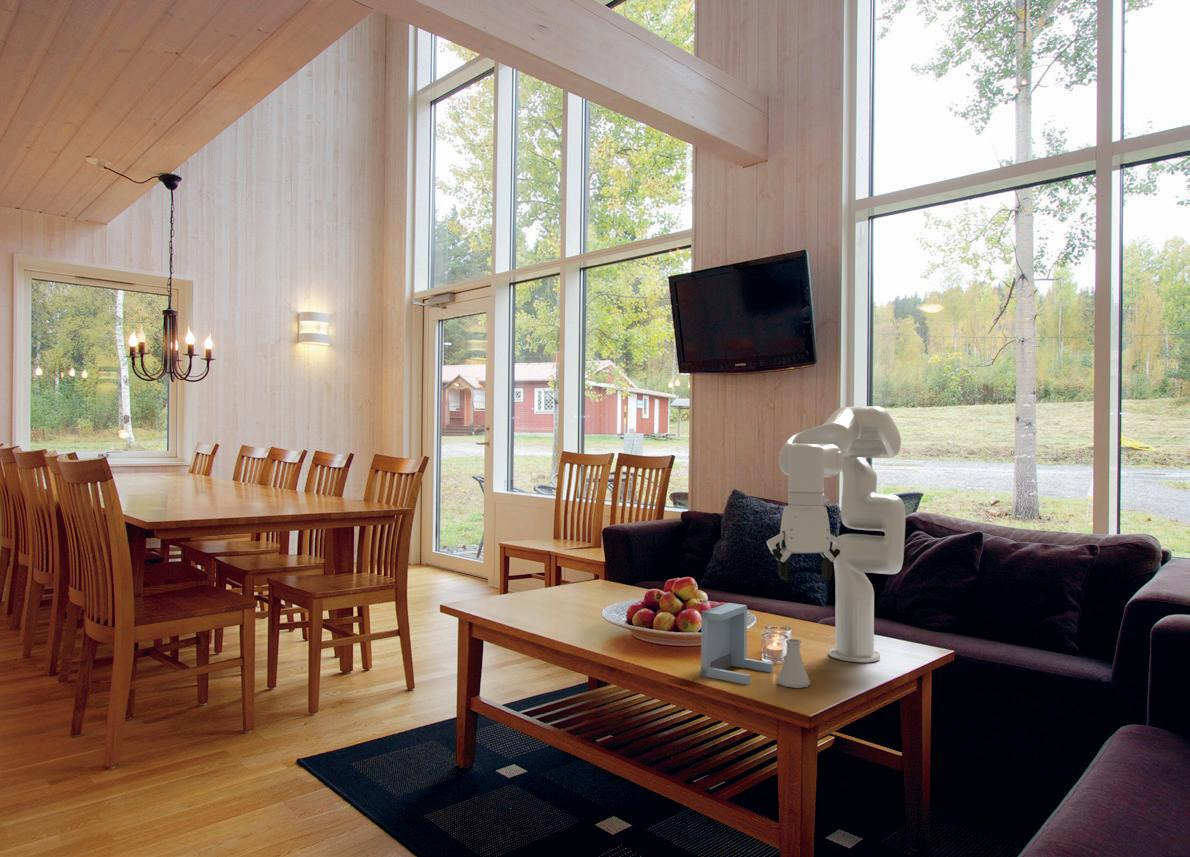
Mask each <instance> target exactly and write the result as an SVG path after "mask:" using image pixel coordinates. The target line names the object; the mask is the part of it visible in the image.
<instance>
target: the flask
mask: <svg viewBox="0 0 1190 857" xmlns="http://www.w3.org/2000/svg"><path fill="white" fill-rule="evenodd" d="M785 642H786V644H787V650H786V654H785V659H784V661H783V664H782V668H781V670H780V673H779V675H778V678H777V680H776V684H778V685H780V686H783V687H787V688H794V689H801V688H807V687H808V686H810V685H811V682H810V679H809V675H808V673H807V671H806V668H805V666H804V665H805V664H804V661H803V659H802V655H801V646H800V645H801V643H802V641H801V639H798V638H787V639H786V640H785Z"/></svg>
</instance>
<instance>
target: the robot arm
mask: <svg viewBox="0 0 1190 857" xmlns="http://www.w3.org/2000/svg"><path fill="white" fill-rule="evenodd" d="M900 434H901V433H900V431H899V429H898V427H897V425H896V423H895V422H894V419H893V418H892V416H891V415H890V414H889V413H888V411H887V410H886V409H885V408H883V407H881V406H876V405H875V406H874V405H873V406H872V405H870V406H844V407H840V408H837V409H835V410H834V411H833V412H832V414H831V415H830V416H829V417H828V418H827V419H826V420H825V422H824V423H823V424H821V425H817V426H813V427H811V428H809V429H806V430H805V429H804V430H803V431H801V432H797V433H794V434H793V435H791V436H790V437H788V439H787V440H786V441H785V443H783V445H782V446H781V449H780V450H779V454H778V458H777V460H778V465H779V466H778V467H779V469H780V471H781V472H782V473H783V474H784V475H785V476H788V477H787V478H788V479H787V480H788V481H787V486H788V488H787V489H788V490H787V491H788V493H787V506H783V509H782V510H783V512H782V515H781V523H780V531H779V534H777V535H775V536H773V537H771V538H769V539H768V540H766V545H767V547H768V549H769V551H770V554H771V555H772V556H773V557H775V559H776V560H777V561H778V562H777V567H778V568H777V573H778V576H779V579H780V580H782V581H787V582H788V581H789V562H788V561H787V560H788V559H789V557H790V556H791V555H792V554H820V555H821V557H823V560H822V561H821V578H822V579H823V580H825V581H831V580H832V576H833V569H834V580H835V611H834V612H835V631H834V632H835V639H834V640H835V643H834V644H835V645H834V646H835V647H831V648H829V650H828V652H829V653H828V655H829V656H830V657H831V658H833V659H836V660H840V661H845V662H849V663H851V662H852V663H874V662H878V661H879V660H880V659H881V654H880V653H879V652H878V651H876V650H875V648H874V646H875V644H874V643H875V628H874V627H875V590H874V587H873V584H872V582H871V581H870V580H869V577H868V576H867V575H866V574H865V573H870V574H871V573H873V574H883V575H896V574H898V573H899V572H900V571H901V570H902V568H903V564H904V558H905V557H904V556H905V555H904V554H905V538H906V537H905V536H906V507H905V502H904V501H903V500H902V498H900V497H899V496H898V495H895V494H889V493H888V494H886V493H877V486H878V482H877V481H878V476H877V474H876V472H875V470H874V468H873V467H872V466H871V465H870V463H869V462H868V461H867V460H866V458H867V459H891V458H894V457H895V456H897V455H898V454H899V453H900V450H901V446H902V439H901V435H900ZM841 472H842V478H843V480H842V495H841V507H840V517H841V518H840V519H841V523H842V525H844V527H846V528H847V529H853V530H860V531H861V530H863V531H877V532H884V536H883V535H872V534H871V535H869V534H861V533H860V534H859V533H843V534H841V535H838V536H835V535H833V534H831V528H830V521H829V520H830V518H829V514H828V510H827V507H825V506H824V505H826V504H825V503H826V502H830V496H829V495H826V494H825V478H833V477H835V476H838V475H840V473H841ZM831 542H832V544H831ZM777 544H779V548H780V549H781V550H778V549H777V548H778V547H777V546H776V545H777ZM830 549H831V550H830ZM833 566H834V568H833Z"/></svg>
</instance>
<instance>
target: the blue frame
mask: <svg viewBox="0 0 1190 857" xmlns="http://www.w3.org/2000/svg"><path fill="white" fill-rule="evenodd" d="M700 623H701V626H700V627H701V629H700V630H701V634H700V635H701V638H700V639H701V640H700V641H701V644H700V647H701V649H700V653H701V654H700V656H701V657H700V676H702V677H707V678H712V679H716V680H717V679H718V680H721V681H726V682H732V683H735V684H742V685H747V686H749V685H751V674H748V673H742V672H738V671H737V672H736V671H733V670H727V669H728V668H731V666H732V667H738V668H743V669H744V668H745V669H751V670H756V671H759V672H760V671H762V672H767V673H773V672H774V662H770V661H764V660H757V659H752V658H747V656H748V654H747V653H748V650H747V649H748V648H747V647H748V646H747V644H748V639H747V638H748V636H747V635H748V634H747V633H748V631H747V630H748V628H747V627H748V625H747V624H748V605H746V604H740V603H731V602H727V603H724V604H721V605H718V606H715V607H714V606H713V607H711V608H708V609H706V610H702V611H701V622H700Z"/></svg>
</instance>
